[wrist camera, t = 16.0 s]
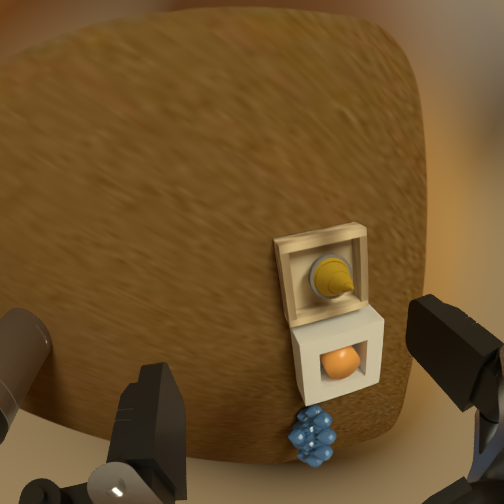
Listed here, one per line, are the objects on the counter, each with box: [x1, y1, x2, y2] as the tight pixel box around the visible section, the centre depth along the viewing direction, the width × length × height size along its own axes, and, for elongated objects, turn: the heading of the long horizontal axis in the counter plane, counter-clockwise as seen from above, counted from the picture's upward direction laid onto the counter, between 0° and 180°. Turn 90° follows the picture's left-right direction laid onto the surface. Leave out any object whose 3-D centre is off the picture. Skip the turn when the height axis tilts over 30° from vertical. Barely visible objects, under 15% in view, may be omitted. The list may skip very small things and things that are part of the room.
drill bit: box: [308, 254, 354, 299], centre depth 35 cm, size 5×5×10 cm
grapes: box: [288, 405, 337, 467], centre depth 43 cm, size 12×7×12 cm, turn 166°
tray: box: [273, 222, 368, 328], centre depth 39 cm, size 11×11×3 cm
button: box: [319, 345, 360, 380], centre depth 42 cm, size 5×5×4 cm
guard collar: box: [290, 304, 384, 406], centre depth 42 cm, size 12×12×5 cm
